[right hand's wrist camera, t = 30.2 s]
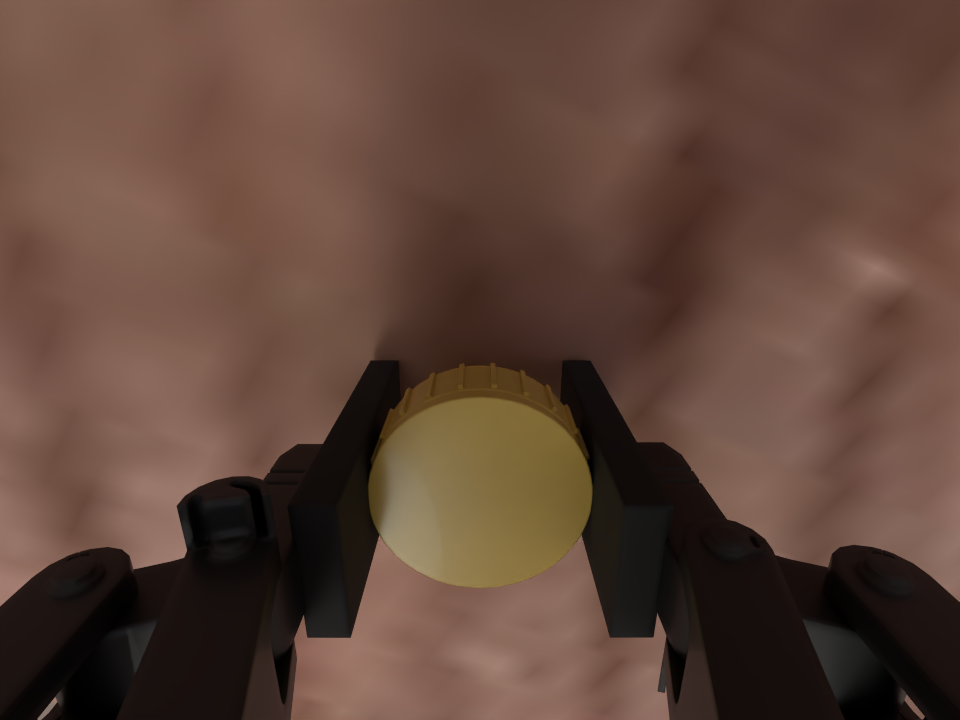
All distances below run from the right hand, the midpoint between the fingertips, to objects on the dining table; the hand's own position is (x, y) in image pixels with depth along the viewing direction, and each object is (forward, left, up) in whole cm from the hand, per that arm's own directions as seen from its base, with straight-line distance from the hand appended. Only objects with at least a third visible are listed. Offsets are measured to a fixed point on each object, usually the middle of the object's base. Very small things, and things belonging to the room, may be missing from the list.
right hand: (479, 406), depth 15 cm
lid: (0, 0, +4) cm, 4 cm away
